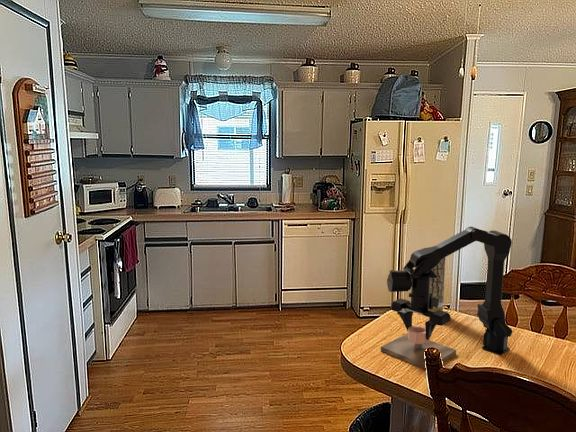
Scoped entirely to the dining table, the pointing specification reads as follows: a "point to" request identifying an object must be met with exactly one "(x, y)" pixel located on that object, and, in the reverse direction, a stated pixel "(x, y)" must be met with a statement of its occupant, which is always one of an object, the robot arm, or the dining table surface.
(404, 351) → the board
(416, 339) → the spool ring
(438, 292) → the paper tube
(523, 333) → the dining table surface
